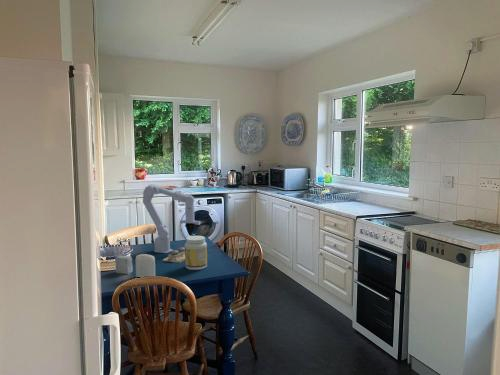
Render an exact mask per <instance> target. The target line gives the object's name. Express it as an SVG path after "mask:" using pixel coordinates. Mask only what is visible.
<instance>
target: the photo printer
mask: <svg viewBox="0 0 500 375" xmlns="http://www.w3.org/2000/svg"><path fill="white" fill-rule="evenodd" d="M144 276H155V277H156V257H155V256H154V255H152V254H147V253H140V254H137V255H135V277H136V278H137V277H144Z"/></svg>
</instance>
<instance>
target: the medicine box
mask: <svg viewBox="0 0 500 375" xmlns="http://www.w3.org/2000/svg"><path fill="white" fill-rule="evenodd" d="M132 257H133V256H130V255H129V256H128V255H118V256H116V257H114V260H115V261H114V263H115V273H116V274H123V275H129V274H131V273H133V270H134V269H133V258H132Z"/></svg>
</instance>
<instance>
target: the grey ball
mask: <svg viewBox="0 0 500 375" xmlns="http://www.w3.org/2000/svg"><path fill="white" fill-rule="evenodd" d="M177 250H178V251H179V252H183V251H185V248H184V246H180V247H179V246H178V247H177Z"/></svg>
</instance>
